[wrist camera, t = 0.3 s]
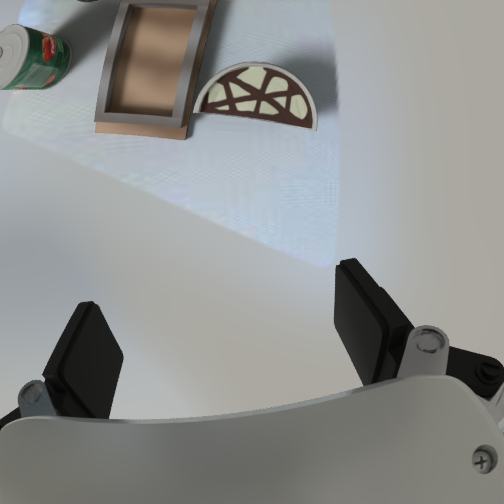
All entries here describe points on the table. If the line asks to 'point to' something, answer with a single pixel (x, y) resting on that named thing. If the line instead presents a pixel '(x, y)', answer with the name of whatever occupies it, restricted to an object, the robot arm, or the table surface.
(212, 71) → the table surface
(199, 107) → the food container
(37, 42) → the canned tomato
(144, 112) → the wooden tray
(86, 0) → the french press
